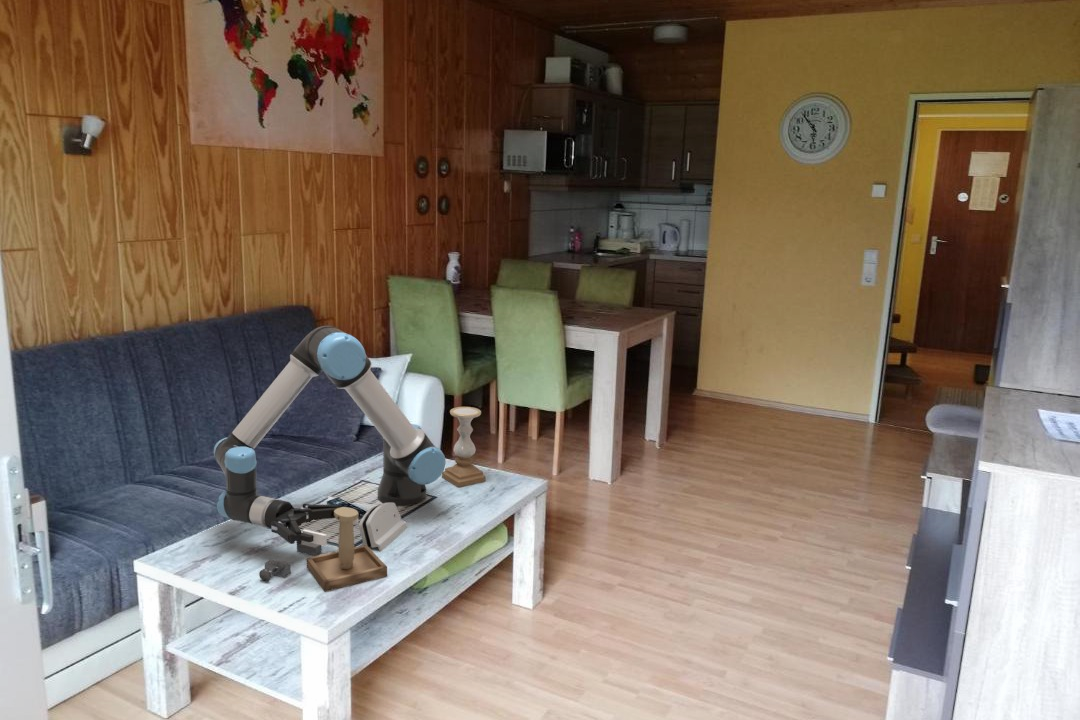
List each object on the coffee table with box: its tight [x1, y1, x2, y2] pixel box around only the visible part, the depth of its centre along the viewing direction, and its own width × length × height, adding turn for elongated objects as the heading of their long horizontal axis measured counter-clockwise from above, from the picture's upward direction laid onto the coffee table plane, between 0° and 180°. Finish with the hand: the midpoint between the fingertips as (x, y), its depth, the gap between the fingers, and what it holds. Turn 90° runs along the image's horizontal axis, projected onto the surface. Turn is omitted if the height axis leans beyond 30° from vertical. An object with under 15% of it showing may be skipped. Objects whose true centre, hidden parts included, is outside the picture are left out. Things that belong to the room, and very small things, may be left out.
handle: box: [334, 506, 360, 569], centre depth 200 cm, size 5×6×15 cm
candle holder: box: [441, 406, 487, 488], centre depth 263 cm, size 11×11×24 cm
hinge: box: [358, 502, 409, 552], centre depth 221 cm, size 17×5×10 cm, turn 163°
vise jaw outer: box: [258, 558, 292, 582], centre depth 197 cm, size 6×6×3 cm
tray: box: [305, 544, 388, 592], centre depth 201 cm, size 16×14×2 cm
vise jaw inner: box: [296, 541, 323, 557], centre depth 210 cm, size 2×6×2 cm, turn 69°
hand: (342, 529), depth 199 cm, fingers open, 13 cm apart
